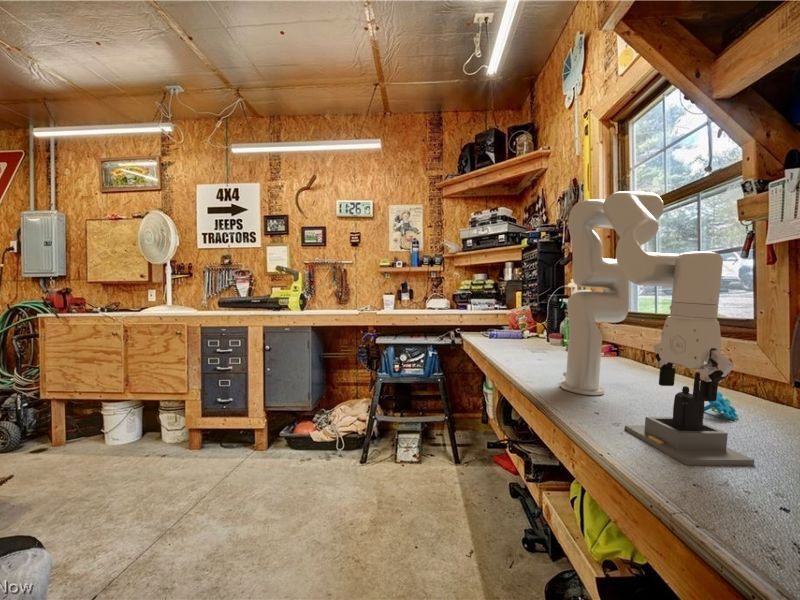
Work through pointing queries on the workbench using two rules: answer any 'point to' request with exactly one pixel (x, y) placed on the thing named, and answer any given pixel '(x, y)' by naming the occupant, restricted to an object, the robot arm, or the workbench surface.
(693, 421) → the two-way radio
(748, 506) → the workbench surface
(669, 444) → the charging cradle
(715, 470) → the workbench surface
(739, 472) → the workbench surface
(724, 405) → the blue branched piece
